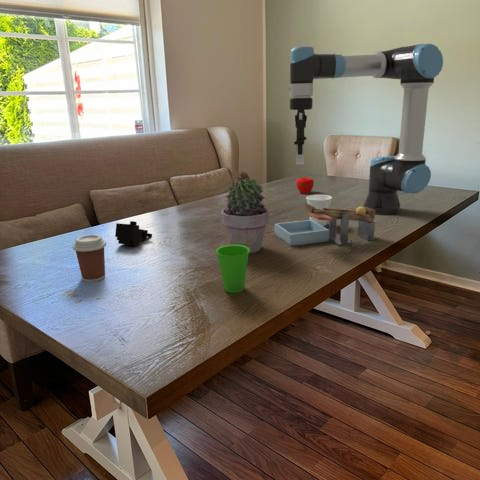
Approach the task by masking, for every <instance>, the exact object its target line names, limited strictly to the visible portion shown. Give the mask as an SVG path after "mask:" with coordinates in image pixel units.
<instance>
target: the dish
mask: <svg viewBox="0 0 480 480" xmlns="http://www.w3.org/2000/svg"><path fill="white" fill-rule="evenodd" d="M274 235H276V237H277V238H279V239H281V241H283V242H284V243H285V244H287V245H288V246H290V247H294V246H302V245H310V244H317V243H325V242H330V241H329V228H326V227H325V226H321V225H320V224H318V223H316V222H314V221H312V220H310V219H305V220H296V221H287V222H286V221H285V222H278V223H274Z"/></svg>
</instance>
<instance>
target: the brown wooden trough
mask: <svg viewBox="0 0 480 480" xmlns="http://www.w3.org/2000/svg"><path fill="white" fill-rule="evenodd" d="M363 207H364V206H363ZM364 208H365V209H366V214H360V213H356V209H355V210H354V209H353V210H352V209H344V208H343V209H342V208H332V207H330V208H323V210H320V209H316V208H315V207H313V206H311V205H309V204H307V202H305V203H304V208H303V214H304V215H306V216H308V217H309V218H310V217H314V218H316V219H317V220H327V222H329V221H332V219H337V220H341V215H346V214H348V215H349V221H355V222H359V221H367V222H373V221H374V220H375V215H376V214H375V212H376V211H375V210H373V209H370V208H368V207H364ZM374 222H375V221H374Z"/></svg>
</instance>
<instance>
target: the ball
mask: <svg viewBox="0 0 480 480" xmlns="http://www.w3.org/2000/svg"><path fill="white" fill-rule="evenodd" d="M355 210H356V213H360V214H366V209H365V208H364V206H358V207H357V208H356V209H355Z"/></svg>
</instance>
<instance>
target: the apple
mask: <svg viewBox="0 0 480 480" xmlns="http://www.w3.org/2000/svg"><path fill="white" fill-rule="evenodd" d="M314 184H315V183H314V179H313V178H311V177H306V176H304V177H299V178H296V183H295V185H296V188H297V190H298V192H299V193H300V194H304V195H307V194H310V193H311V191H312V189H313V188H314Z"/></svg>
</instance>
